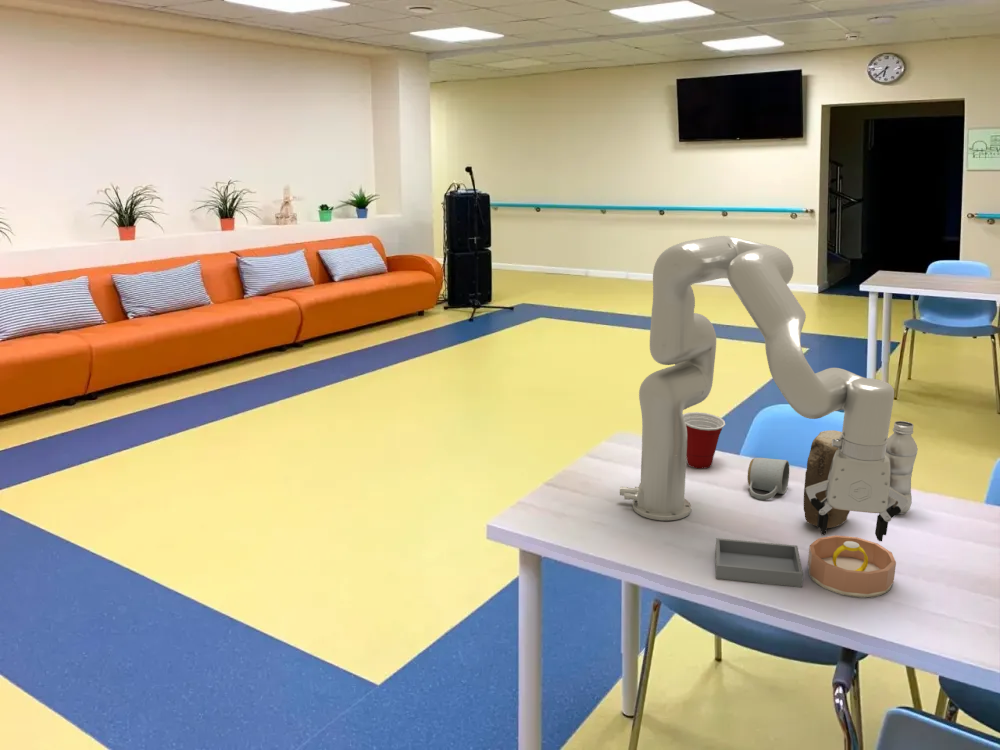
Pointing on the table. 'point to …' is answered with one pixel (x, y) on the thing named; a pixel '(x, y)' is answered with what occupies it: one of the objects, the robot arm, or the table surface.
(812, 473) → the stone
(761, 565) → the parts tray
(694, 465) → the plastic cup
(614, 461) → the table surface
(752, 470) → the ceramic mug
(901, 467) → the plastic bottle
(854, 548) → the watch
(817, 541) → the bowl
